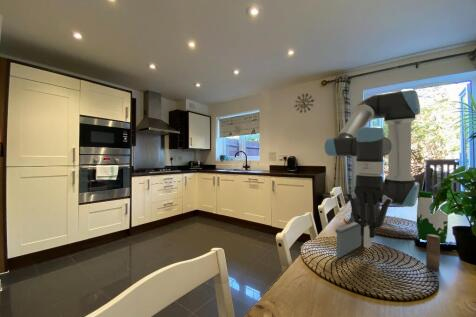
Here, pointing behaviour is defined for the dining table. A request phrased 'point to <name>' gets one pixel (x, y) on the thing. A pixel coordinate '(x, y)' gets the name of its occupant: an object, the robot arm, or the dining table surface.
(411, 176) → the robot arm
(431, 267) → the post
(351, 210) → the salt shaker
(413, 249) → the dining table surface
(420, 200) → the milk carton
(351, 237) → the gate
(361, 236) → the hinge post
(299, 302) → the dining table surface
